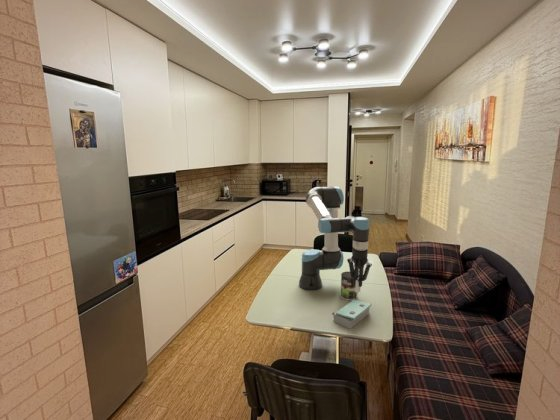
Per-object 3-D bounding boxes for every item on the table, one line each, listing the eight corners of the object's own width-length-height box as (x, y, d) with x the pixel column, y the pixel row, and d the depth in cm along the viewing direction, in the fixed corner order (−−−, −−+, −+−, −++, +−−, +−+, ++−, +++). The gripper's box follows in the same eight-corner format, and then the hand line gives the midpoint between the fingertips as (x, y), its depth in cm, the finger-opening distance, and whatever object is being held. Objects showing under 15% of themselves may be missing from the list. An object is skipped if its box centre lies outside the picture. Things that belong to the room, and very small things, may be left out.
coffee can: (351, 302, 177) (352, 279, 174) (337, 296, 184) (337, 274, 182) (361, 296, 184) (362, 274, 182) (346, 291, 191) (347, 270, 189)
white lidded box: (332, 321, 157) (332, 312, 156) (352, 306, 173) (352, 298, 172) (350, 329, 150) (350, 320, 149) (369, 312, 166) (370, 304, 165)
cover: (335, 314, 156) (335, 311, 156) (353, 300, 170) (353, 298, 170) (354, 319, 149) (354, 317, 149) (371, 305, 163) (371, 303, 163)
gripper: (344, 247, 154) (342, 290, 158) (368, 253, 145) (366, 298, 150) (352, 243, 159) (350, 285, 164) (375, 249, 150) (372, 293, 155)
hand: (357, 291), depth 157 cm, fingers closed
